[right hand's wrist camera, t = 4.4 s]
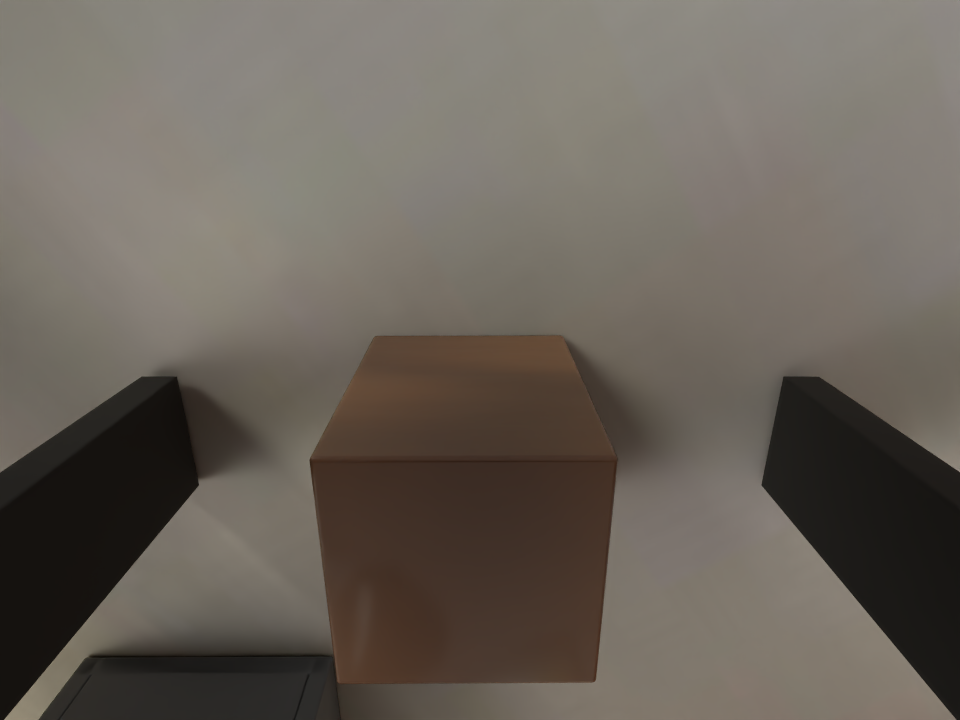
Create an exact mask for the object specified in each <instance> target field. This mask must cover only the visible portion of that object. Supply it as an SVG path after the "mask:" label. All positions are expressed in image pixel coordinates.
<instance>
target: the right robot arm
mask: <svg viewBox="0 0 960 720" xmlns="http://www.w3.org/2000/svg"><path fill="white" fill-rule="evenodd" d="M198 486H199V483H198V478H197V473H196V468H195V463H194V458H193V454H192V449H191V444H190V439H189V434H188V429H187V424H186V419H185V414H184V409H183V404H182V399H181V395H180V390H179V385H178V380H177V377H141V378H139V379H138V380H136V381H135V382H133V383H132V384H130V385H129V386H127V387H126V388H124V389H123V390H121V391H120V392H118V393H117V394H115V395H114V396H113V397H111V398H110V399H108V400H107V401H105V402H104V403H102V404H101V405H99V406H98V407H96V408H95V409H93V410H92V411H90V412H89V413H87V414H86V415H85V416H83V417H82V418H80V419H79V420H77V421H76V422H74V423H73V424H71V425H70V426H68V427H67V428H65V429H64V430H62V431H61V432H59V433H58V434H57V435H55V436H54V437H52V438H51V439H49V440H48V441H46V442H45V443H43V444H42V445H40V446H39V447H37V448H36V449H34V450H33V451H31V452H30V453H29V454H27V455H26V456H24V457H23V458H21V459H20V460H18V461H17V462H15V463H14V464H12V465H11V466H9V467H8V468H6V469H5V470H3V471H2V472H1V473H0V720H4V719H5V718H6V717H7V715H8V714H9V713H10V712H11V711H12V709H13V708H14V707H15V706H16V705H17V703H18V702H19V701H20V700H21V699H22V697H23V696H24V695H25V694H26V693H27V691H28V690H29V689H30V688H31V686H32V685H33V684H34V683H35V682H36V680H37V679H38V678H39V677H40V676H41V674H42V673H43V672H44V671H45V670H46V668H47V667H48V666H49V665H50V664H51V662H52V661H53V660H54V659H55V658H56V656H57V655H58V654H59V653H60V652H61V650H62V649H63V648H64V647H65V646H66V644H67V643H68V642H69V641H70V640H71V638H72V637H73V636H74V635H75V634H76V632H77V631H78V630H79V629H80V628H81V626H82V625H83V624H84V623H85V622H86V620H87V619H88V618H89V617H90V616H91V614H92V613H93V612H94V611H95V610H96V608H97V607H98V606H99V605H100V604H101V602H102V601H103V600H104V599H105V598H106V596H107V595H108V594H109V593H110V591H111V590H112V589H113V588H114V587H115V585H116V584H117V583H118V582H119V581H120V579H121V578H122V577H123V576H124V575H125V573H126V572H127V571H128V570H129V569H130V567H131V566H132V565H133V564H134V563H135V561H136V560H137V559H138V558H139V557H140V555H141V554H142V553H143V552H144V551H145V549H146V548H147V547H148V546H149V545H150V543H151V542H152V541H153V540H154V539H155V537H156V536H157V535H158V534H159V533H160V531H161V530H162V529H163V528H164V527H165V525H166V524H167V523H168V522H169V521H170V519H171V518H172V517H173V516H174V515H175V513H176V512H177V511H178V510H179V509H180V507H181V506H182V505H183V504H184V503H185V501H186V500H187V499H188V498H189V496H190V495H191V494H192V493H193V492H194V490H195V489H196V488H197V487H198ZM762 486H763V488H764V489H765V490H766V491H767V492H768V494H769V495H770V496H771V497H772V498H773V500H774V501H775V502H776V503H777V504H778V506H779V507H780V508H781V509H782V510H783V512H784V513H785V514H786V515H787V516H788V518H789V519H790V520H791V521H792V522H793V524H794V525H795V526H796V527H797V528H798V530H799V531H800V532H801V533H802V534H803V536H804V537H805V538H806V539H807V540H808V542H809V543H810V544H811V545H812V546H813V548H814V549H815V550H816V551H817V552H818V554H819V555H820V556H821V557H822V558H823V560H824V561H825V562H826V563H827V564H828V566H829V567H830V568H831V569H832V571H833V572H834V573H835V574H836V575H837V577H838V578H839V579H840V580H841V581H842V583H843V584H844V585H845V586H846V587H847V589H848V590H849V591H850V592H851V593H852V595H853V596H854V597H855V598H856V599H857V601H858V602H859V603H860V604H861V605H862V607H863V608H864V609H865V610H866V611H867V613H868V614H869V615H870V616H871V617H872V619H873V620H874V621H875V622H876V623H877V625H878V626H879V627H880V628H881V629H882V631H883V632H884V633H885V634H886V635H887V637H888V638H889V639H890V640H891V641H892V643H893V644H894V645H895V646H896V647H897V649H898V650H899V651H900V652H901V653H902V655H903V656H904V657H905V658H906V659H907V661H908V662H909V663H910V664H911V666H912V667H913V668H914V669H915V670H916V672H917V673H918V674H919V675H920V676H921V678H922V679H923V680H924V681H925V682H926V684H927V685H928V686H929V687H930V688H931V690H932V691H933V692H934V693H935V694H936V696H937V697H938V698H939V699H940V700H941V702H942V703H943V704H944V705H945V706H946V708H947V709H948V710H949V711H950V712H951V714H952V715H953V716H954V717H955V718H956V720H960V472H958V471H957V470H956V469H954V468H953V467H951V466H950V465H948V464H947V463H945V462H944V461H942V460H941V459H939V458H938V457H936V456H935V455H933V454H932V453H930V452H929V451H928V450H926V449H925V448H923V447H922V446H920V445H919V444H917V443H916V442H914V441H913V440H911V439H910V438H908V437H907V436H905V435H904V434H902V433H901V432H900V431H898V430H897V429H895V428H894V427H892V426H891V425H889V424H888V423H886V422H885V421H883V420H882V419H880V418H879V417H877V416H876V415H874V414H873V413H872V412H870V411H869V410H867V409H866V408H864V407H863V406H861V405H860V404H858V403H857V402H855V401H854V400H852V399H851V398H849V397H848V396H846V395H845V394H844V393H842V392H841V391H839V390H838V389H836V388H835V387H833V386H832V385H830V384H829V383H827V382H826V381H824V380H823V379H821V378H820V377H783V382H782V387H781V392H780V397H779V402H778V407H777V412H776V417H775V422H774V427H773V431H772V436H771V441H770V446H769V451H768V456H767V461H766V466H765V471H764V476H763V481H762Z"/></svg>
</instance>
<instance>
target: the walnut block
mask: <svg viewBox="0 0 960 720" xmlns="http://www.w3.org/2000/svg"><path fill="white" fill-rule="evenodd" d="M617 462H618V459H617V456H616V454H615V452H614V449H613V447H612V445H611V443H610V440H609V438H608V436H607V434H606V431H605V429H604V427H603V425H602V422H601V420H600V418H599V416H598V413H597V411H596V409H595V407H594V404H593V402H592V400H591V398H590V396H589V393H588V391H587V389H586V387H585V384H584V382H583V380H582V378H581V375H580V373H579V371H578V369H577V366H576V364H575V362H574V360H573V357H572V355H571V353H570V351H569V349H568V346H567V344H566V342H565V340H564V337H563V336H376V337H374V339H373V340H372V342H371V344H370V346H369V348H368V350H367V352H366V354H365V356H364V357H363V359H362V361H361V363H360V365H359V367H358V369H357V371H356V372H355V374H354V376H353V378H352V380H351V382H350V384H349V386H348V388H347V389H346V391H345V393H344V395H343V397H342V399H341V401H340V403H339V405H338V406H337V408H336V410H335V412H334V414H333V416H332V418H331V420H330V422H329V423H328V425H327V427H326V429H325V431H324V433H323V435H322V437H321V439H320V440H319V442H318V444H317V446H316V448H315V450H314V452H313V454H312V456H311V458H310V468H311V476H312V484H313V492H314V500H315V508H316V516H317V524H318V532H319V540H320V548H321V556H322V564H323V572H324V581H325V589H326V597H327V605H328V613H329V621H330V629H331V637H332V645H333V653H334V661H335V669H336V677H337V682H338V683H340V684H401V683H592V682H595V680H596V675H597V664H598V654H599V644H600V634H601V624H602V614H603V604H604V593H605V583H606V573H607V563H608V553H609V543H610V533H611V522H612V512H613V502H614V492H615V482H616V472H617Z"/></svg>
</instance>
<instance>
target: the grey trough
mask: <svg viewBox="0 0 960 720" xmlns="http://www.w3.org/2000/svg"><path fill="white" fill-rule="evenodd" d="M39 720H340V712H339V704H338V696H337V688H336V680H335V672H334V664H333V658H332V657H331V656H321V657H120V658H85V659H84V661H83V662H82V663H81V665H80V666H79V667H78V668H77V670H76V671H75V672H74V674H73V675H72V676H71V678H70V679H69V680H68V682H67V683H66V684H65V686H64V687H63V688H62V689H61V691H60V692H59V693H58V695H57V696H56V697H55V699H54V700H53V701H52V703H51V704H50V705H49V707H48V708H47V709H46V711H45V712H44V713H43V714H42V716H41V717H40V718H39Z"/></svg>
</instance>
